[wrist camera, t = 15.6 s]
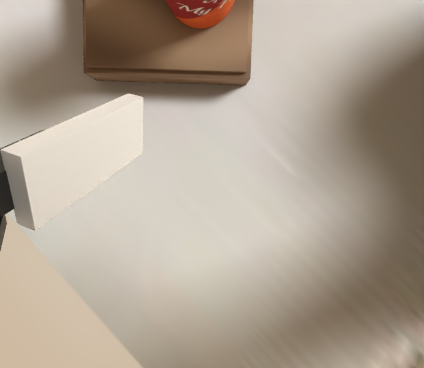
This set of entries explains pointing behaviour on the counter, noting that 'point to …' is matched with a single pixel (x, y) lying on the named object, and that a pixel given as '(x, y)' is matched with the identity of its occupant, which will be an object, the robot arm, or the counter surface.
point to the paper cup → (200, 11)
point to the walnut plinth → (165, 44)
